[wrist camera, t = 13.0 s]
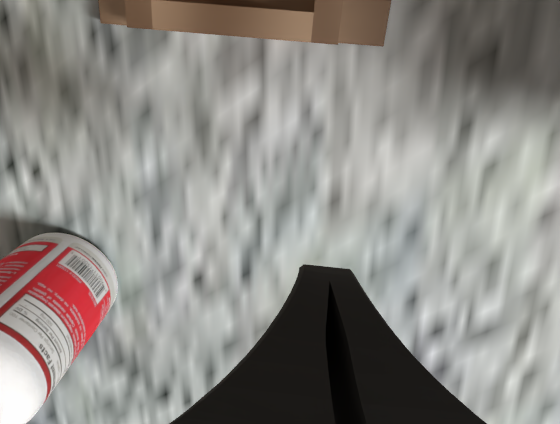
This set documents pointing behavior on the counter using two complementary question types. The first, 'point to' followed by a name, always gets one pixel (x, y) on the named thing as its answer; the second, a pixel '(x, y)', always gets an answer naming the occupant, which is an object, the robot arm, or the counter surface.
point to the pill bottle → (47, 316)
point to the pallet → (258, 18)
